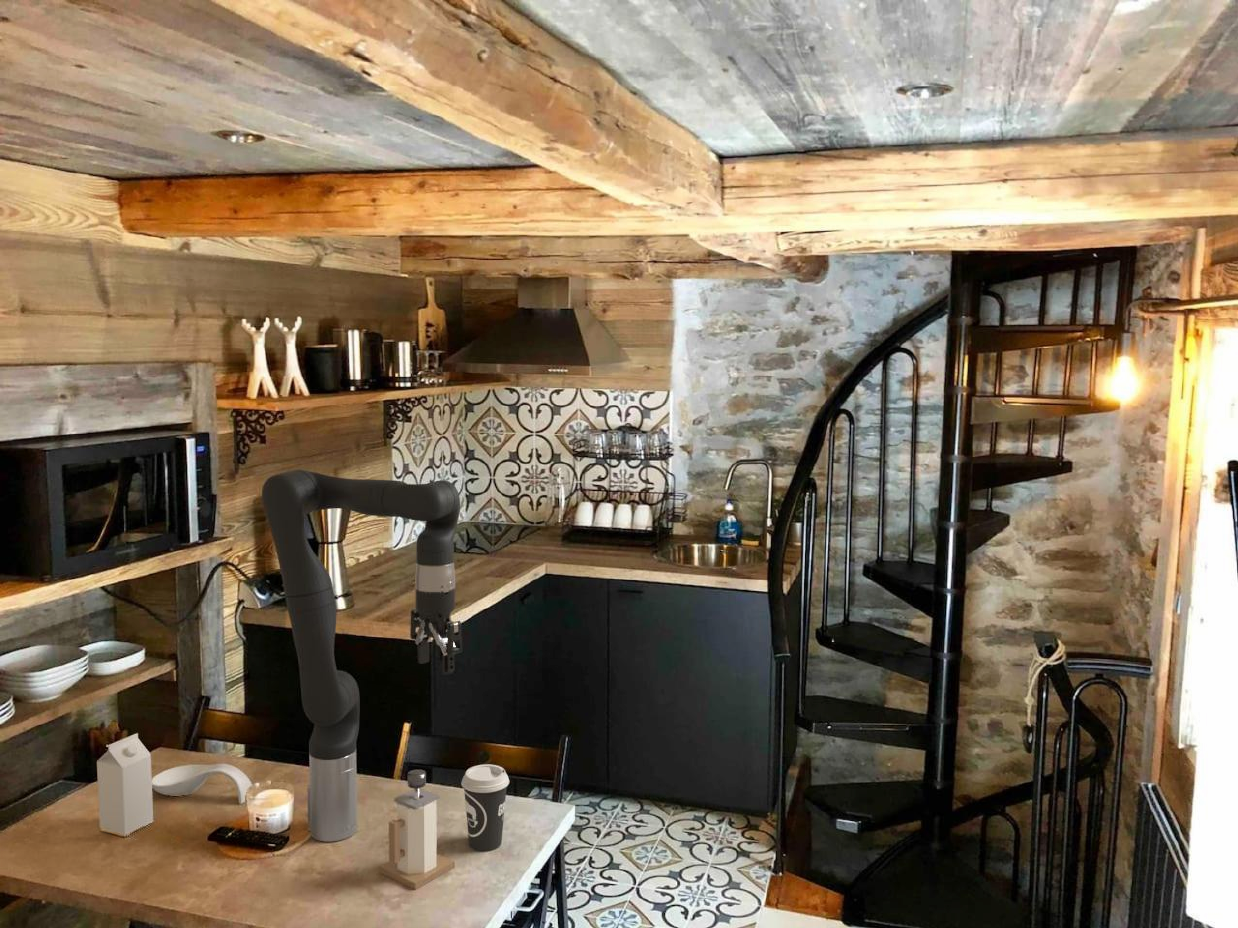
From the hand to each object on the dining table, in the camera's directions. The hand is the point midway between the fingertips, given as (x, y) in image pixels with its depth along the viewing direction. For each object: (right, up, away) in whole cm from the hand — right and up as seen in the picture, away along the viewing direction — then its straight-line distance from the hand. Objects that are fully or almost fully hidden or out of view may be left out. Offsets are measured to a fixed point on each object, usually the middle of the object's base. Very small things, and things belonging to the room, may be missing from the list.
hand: (435, 667), depth 191 cm
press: (-3, -38, -1) cm, 39 cm away
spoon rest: (-58, -35, +30) cm, 74 cm away
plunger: (-3, -33, -2) cm, 33 cm away
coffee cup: (+8, -38, +9) cm, 40 cm away
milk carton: (-66, -36, +14) cm, 77 cm away
